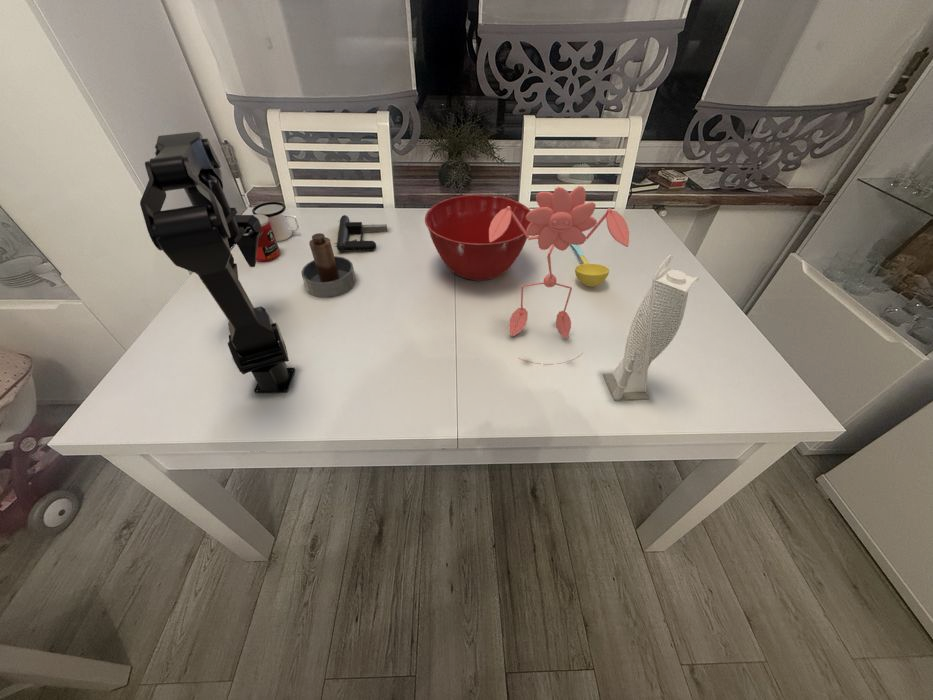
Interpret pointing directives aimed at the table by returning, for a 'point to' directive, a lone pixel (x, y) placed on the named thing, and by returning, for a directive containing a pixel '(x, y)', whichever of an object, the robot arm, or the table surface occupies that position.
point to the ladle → (590, 271)
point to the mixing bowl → (476, 235)
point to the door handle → (356, 228)
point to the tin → (332, 287)
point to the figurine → (557, 237)
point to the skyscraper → (650, 332)
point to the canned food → (266, 241)
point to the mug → (276, 219)
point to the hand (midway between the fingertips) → (244, 278)
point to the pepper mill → (324, 258)
